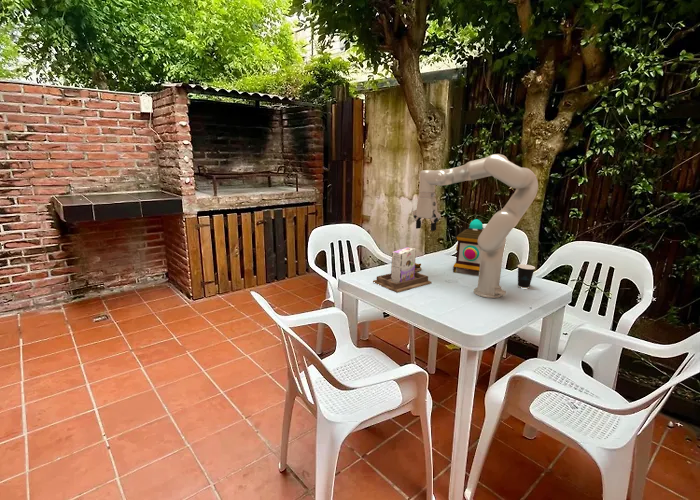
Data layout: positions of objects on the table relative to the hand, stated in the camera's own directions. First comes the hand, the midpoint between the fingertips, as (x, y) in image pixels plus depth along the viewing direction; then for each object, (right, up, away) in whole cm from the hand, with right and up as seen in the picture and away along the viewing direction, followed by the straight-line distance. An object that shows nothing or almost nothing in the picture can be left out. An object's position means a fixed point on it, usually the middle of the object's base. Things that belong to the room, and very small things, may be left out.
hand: (425, 229), depth 187 cm
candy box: (-12, -27, +2) cm, 29 cm away
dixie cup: (+48, -29, -2) cm, 57 cm away
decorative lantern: (+31, -23, +24) cm, 46 cm away
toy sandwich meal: (-4, -22, +26) cm, 34 cm away
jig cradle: (-12, -27, +2) cm, 30 cm away
